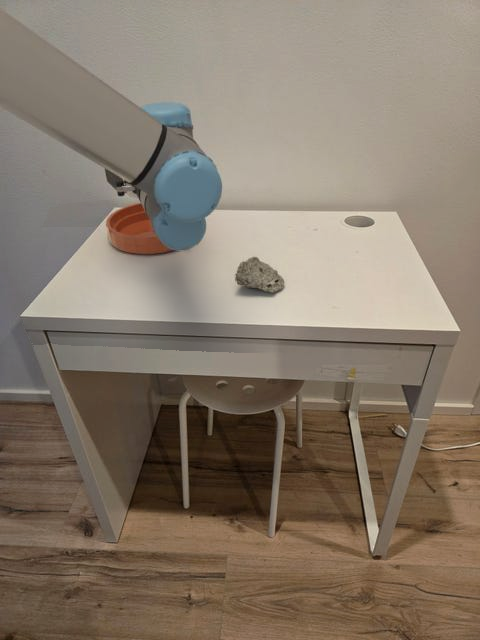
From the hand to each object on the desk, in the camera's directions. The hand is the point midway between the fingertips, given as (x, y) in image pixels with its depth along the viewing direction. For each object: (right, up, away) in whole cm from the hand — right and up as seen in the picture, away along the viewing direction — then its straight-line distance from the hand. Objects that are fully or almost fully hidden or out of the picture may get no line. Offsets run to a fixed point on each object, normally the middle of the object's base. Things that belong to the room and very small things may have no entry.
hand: (139, 159), depth 92 cm
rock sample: (+26, -27, -7) cm, 38 cm away
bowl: (+1, -14, +12) cm, 18 cm away
